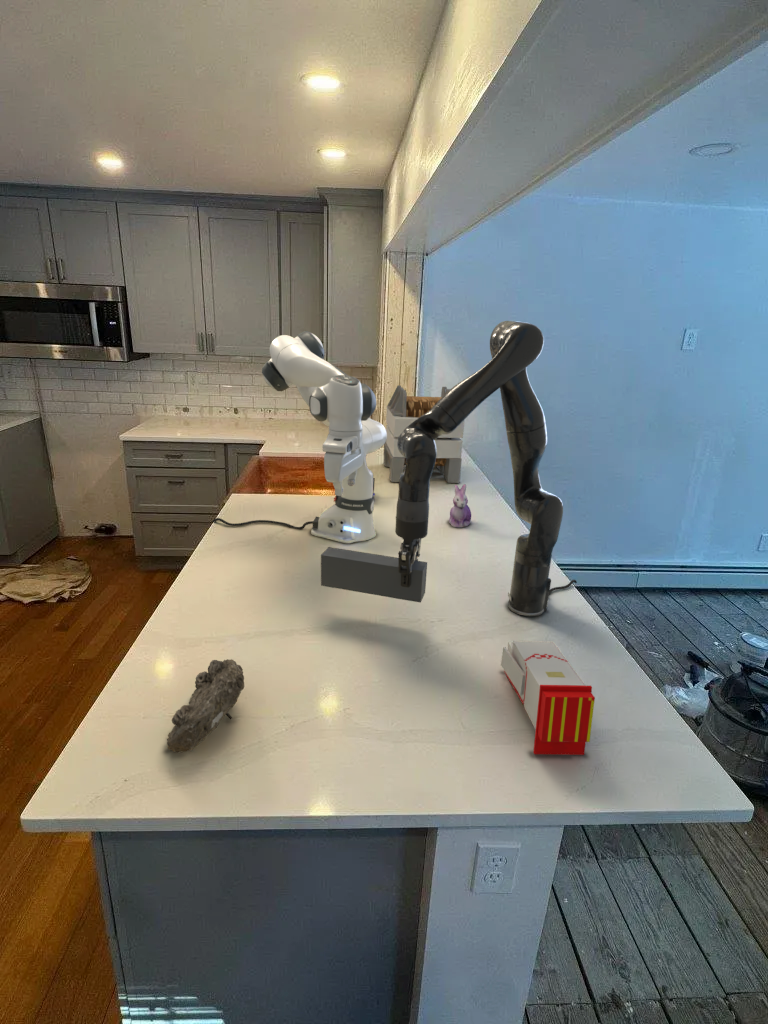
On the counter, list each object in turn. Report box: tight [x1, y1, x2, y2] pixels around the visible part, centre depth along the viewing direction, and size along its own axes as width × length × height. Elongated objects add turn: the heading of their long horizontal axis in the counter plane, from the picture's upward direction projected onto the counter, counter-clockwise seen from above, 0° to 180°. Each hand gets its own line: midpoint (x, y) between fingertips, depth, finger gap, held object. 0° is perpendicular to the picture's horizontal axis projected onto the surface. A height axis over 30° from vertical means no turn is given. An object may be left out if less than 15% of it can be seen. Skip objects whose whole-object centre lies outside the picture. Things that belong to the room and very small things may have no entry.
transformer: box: [383, 384, 466, 484], centre depth 268 cm, size 34×33×41 cm
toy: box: [500, 640, 596, 756], centre depth 114 cm, size 12×13×30 cm
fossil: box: [166, 658, 245, 754], centre depth 106 cm, size 22×10×15 cm
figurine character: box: [373, 477, 376, 497], centre depth 233 cm, size 7×8×15 cm
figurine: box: [448, 483, 472, 528], centre depth 209 cm, size 9×10×15 cm
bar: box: [320, 546, 428, 603], centre depth 139 cm, size 26×5×8 cm, turn 74°
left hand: (345, 490), depth 153 cm, fingers open, 8 cm apart
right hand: (408, 580), depth 137 cm, fingers closed on bar, 5 cm apart
